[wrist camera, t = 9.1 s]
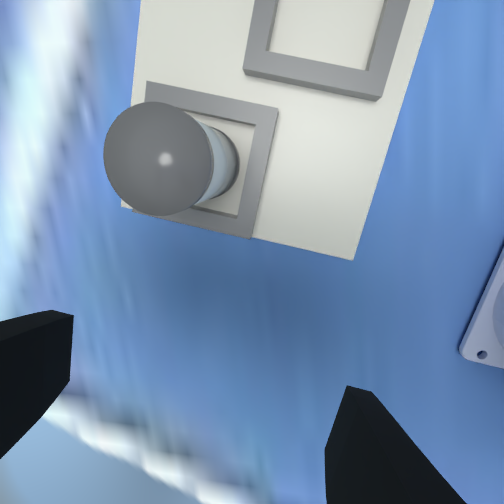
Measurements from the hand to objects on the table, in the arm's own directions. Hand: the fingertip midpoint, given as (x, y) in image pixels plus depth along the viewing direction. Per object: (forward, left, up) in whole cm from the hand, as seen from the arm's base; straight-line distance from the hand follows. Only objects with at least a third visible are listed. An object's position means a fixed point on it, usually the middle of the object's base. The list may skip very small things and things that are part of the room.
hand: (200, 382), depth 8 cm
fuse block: (+1, -9, -10) cm, 13 cm away
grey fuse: (+3, -5, -9) cm, 10 cm away
